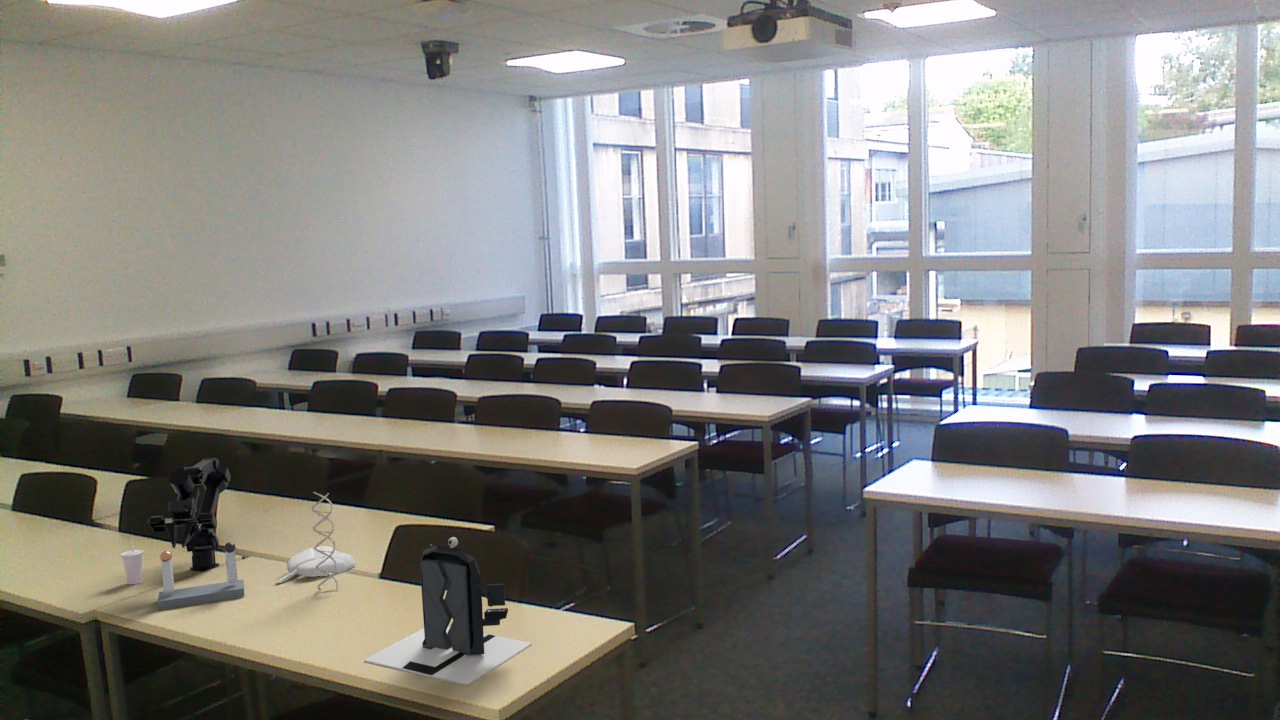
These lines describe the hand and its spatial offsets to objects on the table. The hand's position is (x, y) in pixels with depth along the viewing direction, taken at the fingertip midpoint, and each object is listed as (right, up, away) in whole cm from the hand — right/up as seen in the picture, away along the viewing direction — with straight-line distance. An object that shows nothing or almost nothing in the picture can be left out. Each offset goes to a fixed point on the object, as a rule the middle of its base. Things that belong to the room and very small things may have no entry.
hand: (178, 547), depth 291 cm
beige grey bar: (+18, -11, -3) cm, 21 cm away
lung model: (+35, -11, +15) cm, 40 cm away
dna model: (+46, -13, -3) cm, 48 cm away
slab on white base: (+92, -17, -51) cm, 106 cm away
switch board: (+10, -14, -6) cm, 18 cm away
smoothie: (-19, -13, +11) cm, 25 cm away
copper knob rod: (+2, -12, -9) cm, 15 cm away
